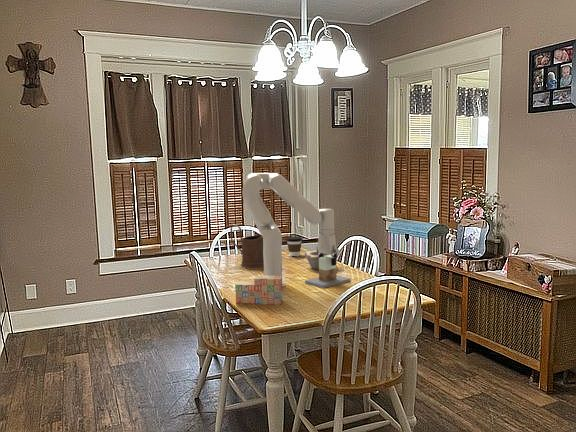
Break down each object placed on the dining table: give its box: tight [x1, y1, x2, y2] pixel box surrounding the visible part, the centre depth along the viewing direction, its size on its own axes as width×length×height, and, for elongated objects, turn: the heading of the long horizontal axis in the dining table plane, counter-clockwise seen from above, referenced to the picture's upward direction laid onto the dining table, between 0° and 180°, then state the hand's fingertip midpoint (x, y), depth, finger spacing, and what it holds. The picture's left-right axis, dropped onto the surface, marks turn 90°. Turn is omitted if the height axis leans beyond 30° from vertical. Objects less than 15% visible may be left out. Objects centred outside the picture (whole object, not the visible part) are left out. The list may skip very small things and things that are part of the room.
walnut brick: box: [318, 267, 337, 282], centre depth 278 cm, size 8×5×6 cm, turn 129°
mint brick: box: [318, 256, 337, 270], centre depth 277 cm, size 8×5×6 cm, turn 130°
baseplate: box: [304, 274, 352, 289], centre depth 279 cm, size 20×14×2 cm
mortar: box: [304, 250, 334, 270], centre depth 312 cm, size 17×17×9 cm
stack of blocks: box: [235, 275, 284, 305], centre depth 245 cm, size 21×6×12 cm, turn 82°
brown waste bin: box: [230, 224, 264, 269], centre depth 323 cm, size 18×24×25 cm
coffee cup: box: [285, 236, 303, 257], centre depth 349 cm, size 11×11×12 cm
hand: (327, 263), depth 277 cm, fingers open, 9 cm apart
